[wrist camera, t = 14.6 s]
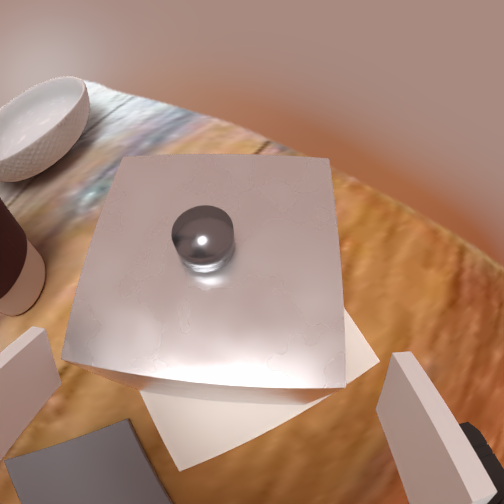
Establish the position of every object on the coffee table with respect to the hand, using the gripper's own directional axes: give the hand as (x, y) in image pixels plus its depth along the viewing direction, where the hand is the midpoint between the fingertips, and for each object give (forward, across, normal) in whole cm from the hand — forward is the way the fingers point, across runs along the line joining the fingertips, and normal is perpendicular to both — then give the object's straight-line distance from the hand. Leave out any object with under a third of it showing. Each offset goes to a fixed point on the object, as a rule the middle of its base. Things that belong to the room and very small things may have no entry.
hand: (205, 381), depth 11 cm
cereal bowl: (+28, -27, +10) cm, 40 cm away
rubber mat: (0, -10, -17) cm, 19 cm away
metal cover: (+12, 0, -4) cm, 12 cm away
